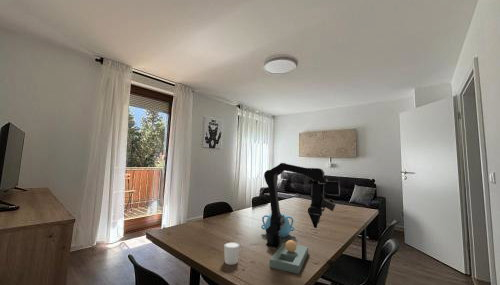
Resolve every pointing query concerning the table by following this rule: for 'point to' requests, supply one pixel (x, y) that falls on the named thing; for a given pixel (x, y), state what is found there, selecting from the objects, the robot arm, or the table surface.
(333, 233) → the table surface
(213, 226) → the table surface
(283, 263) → the deck
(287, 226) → the decorative pot
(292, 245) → the ball
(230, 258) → the white cylinder
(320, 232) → the table surface
